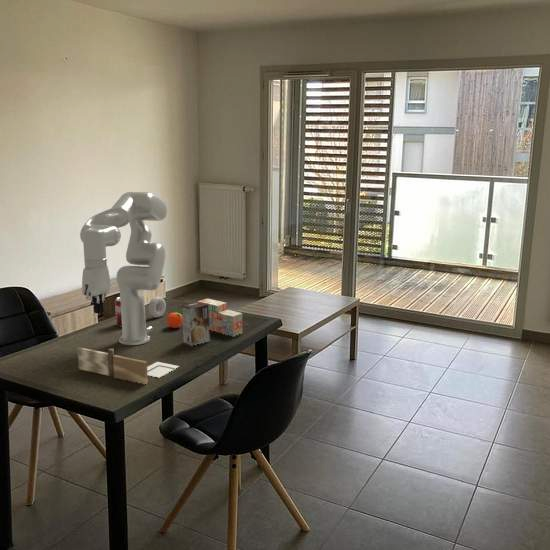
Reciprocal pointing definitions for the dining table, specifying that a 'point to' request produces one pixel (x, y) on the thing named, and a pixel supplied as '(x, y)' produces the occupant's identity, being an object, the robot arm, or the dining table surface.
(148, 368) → the card
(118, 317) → the soda can
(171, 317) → the clementine
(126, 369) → the wooden hinged panel
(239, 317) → the stack of blocks
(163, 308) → the donut
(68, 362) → the dining table surface
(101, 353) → the pale wooden plank
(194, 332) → the coffee box
